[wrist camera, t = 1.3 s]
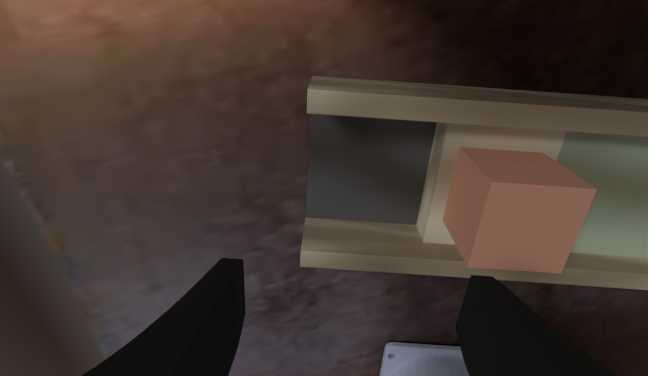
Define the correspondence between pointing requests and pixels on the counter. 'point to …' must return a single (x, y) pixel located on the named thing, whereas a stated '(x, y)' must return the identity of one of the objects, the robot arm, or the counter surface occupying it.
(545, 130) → the trap lane
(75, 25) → the counter surface
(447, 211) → the block
